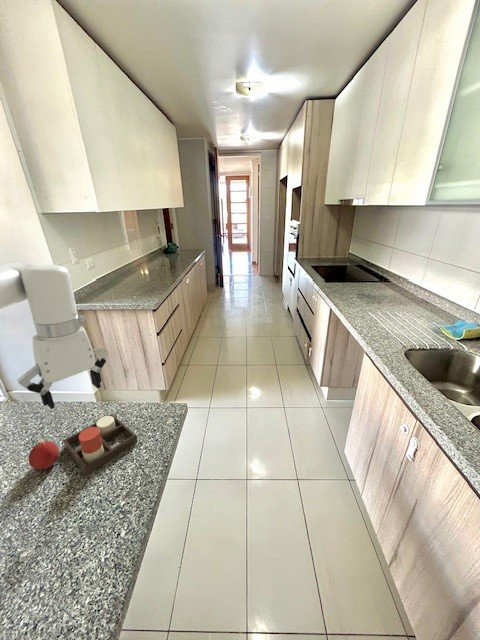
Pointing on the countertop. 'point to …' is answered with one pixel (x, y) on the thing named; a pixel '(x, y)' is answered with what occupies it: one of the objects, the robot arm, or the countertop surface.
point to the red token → (90, 440)
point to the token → (106, 424)
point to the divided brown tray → (108, 450)
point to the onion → (43, 455)
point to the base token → (93, 455)
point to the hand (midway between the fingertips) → (74, 395)
